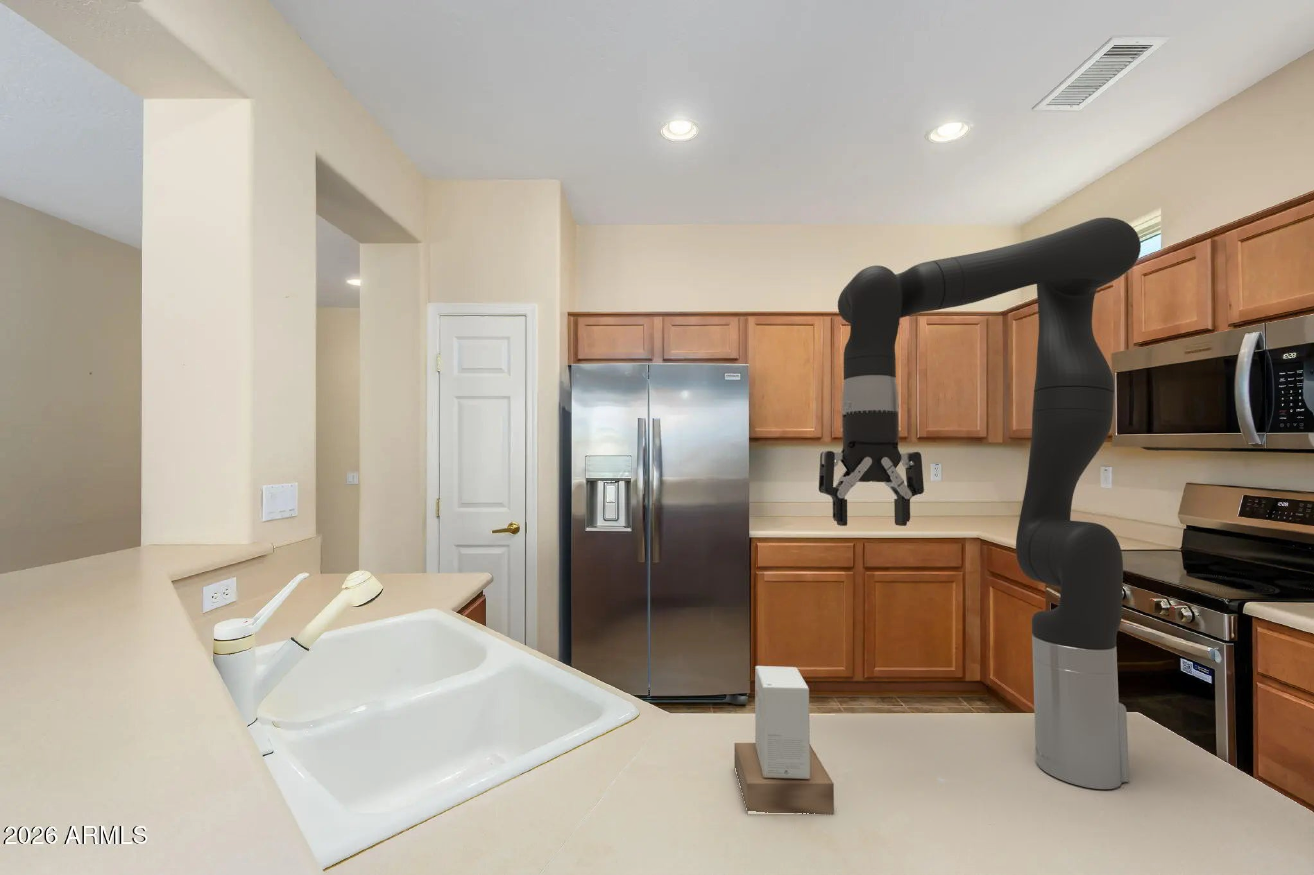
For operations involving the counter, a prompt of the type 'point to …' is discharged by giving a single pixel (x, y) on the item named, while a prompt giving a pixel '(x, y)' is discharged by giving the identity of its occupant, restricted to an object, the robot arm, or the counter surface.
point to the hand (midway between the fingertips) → (871, 525)
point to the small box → (782, 722)
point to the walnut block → (783, 786)
